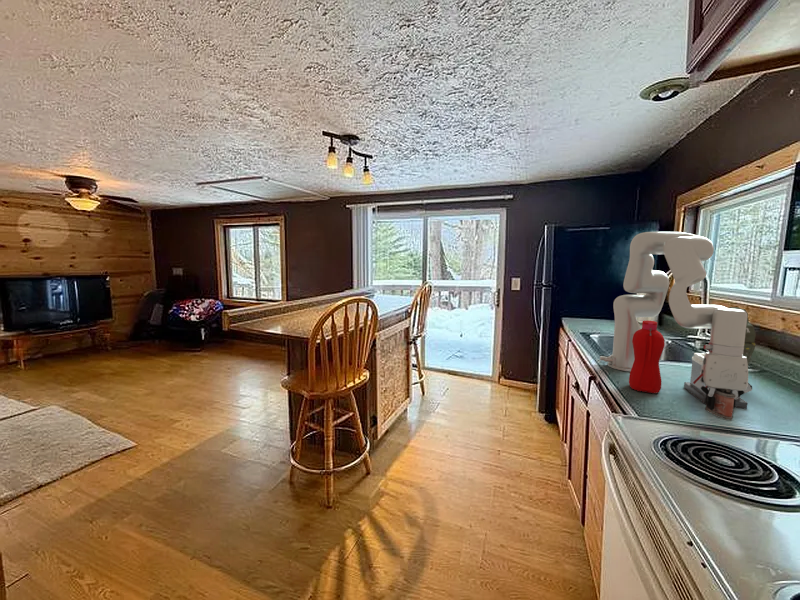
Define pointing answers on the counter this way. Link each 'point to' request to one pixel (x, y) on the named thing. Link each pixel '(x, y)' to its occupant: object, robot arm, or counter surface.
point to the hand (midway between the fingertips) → (719, 408)
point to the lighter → (723, 404)
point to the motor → (696, 390)
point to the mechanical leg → (748, 339)
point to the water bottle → (647, 358)
